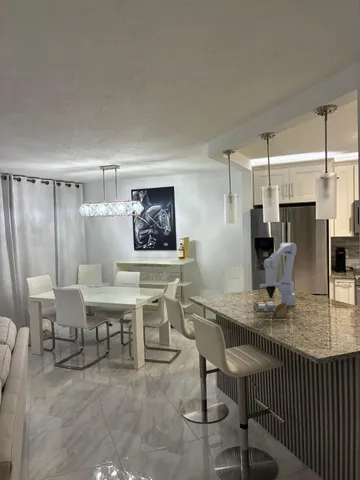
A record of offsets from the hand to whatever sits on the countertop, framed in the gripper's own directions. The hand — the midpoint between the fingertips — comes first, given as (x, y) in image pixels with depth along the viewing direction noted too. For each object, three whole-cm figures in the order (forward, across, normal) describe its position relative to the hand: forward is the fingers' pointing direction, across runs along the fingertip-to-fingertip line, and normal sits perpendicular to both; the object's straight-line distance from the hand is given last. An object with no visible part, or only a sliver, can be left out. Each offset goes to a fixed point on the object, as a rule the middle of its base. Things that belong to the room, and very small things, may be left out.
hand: (270, 297), depth 235 cm
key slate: (+7, 0, 0) cm, 7 cm away
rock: (+10, +3, +17) cm, 20 cm away
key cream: (+7, +6, -2) cm, 9 cm away
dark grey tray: (+9, +2, -4) cm, 10 cm away
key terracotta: (+7, +3, -8) cm, 11 cm away
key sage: (+7, -2, -6) cm, 9 cm away
